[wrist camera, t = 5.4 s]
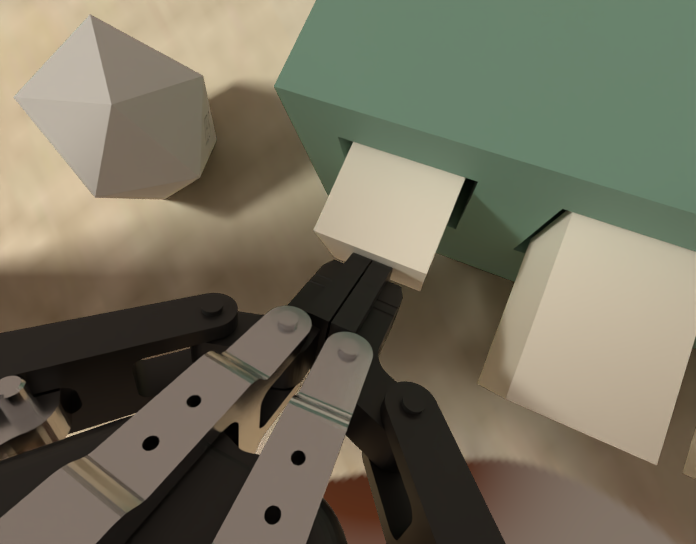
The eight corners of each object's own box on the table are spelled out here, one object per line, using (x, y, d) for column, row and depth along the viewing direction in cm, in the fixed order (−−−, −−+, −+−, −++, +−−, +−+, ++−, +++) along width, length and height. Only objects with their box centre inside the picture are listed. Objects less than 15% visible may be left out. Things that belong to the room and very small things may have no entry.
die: (257, 200, 23) (219, 13, 16) (110, 260, 19) (-20, 40, 12) (200, 158, 27) (153, -2, 21) (73, 198, 23) (-36, 14, 17)
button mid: (476, 383, 14) (505, 398, 10) (530, 238, 14) (576, 203, 11) (582, 430, 13) (657, 465, 9) (633, 274, 13) (722, 249, 10)
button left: (334, 257, 15) (313, 230, 12) (388, 134, 16) (384, 71, 12) (420, 291, 14) (426, 274, 11) (472, 160, 15) (496, 101, 12)
